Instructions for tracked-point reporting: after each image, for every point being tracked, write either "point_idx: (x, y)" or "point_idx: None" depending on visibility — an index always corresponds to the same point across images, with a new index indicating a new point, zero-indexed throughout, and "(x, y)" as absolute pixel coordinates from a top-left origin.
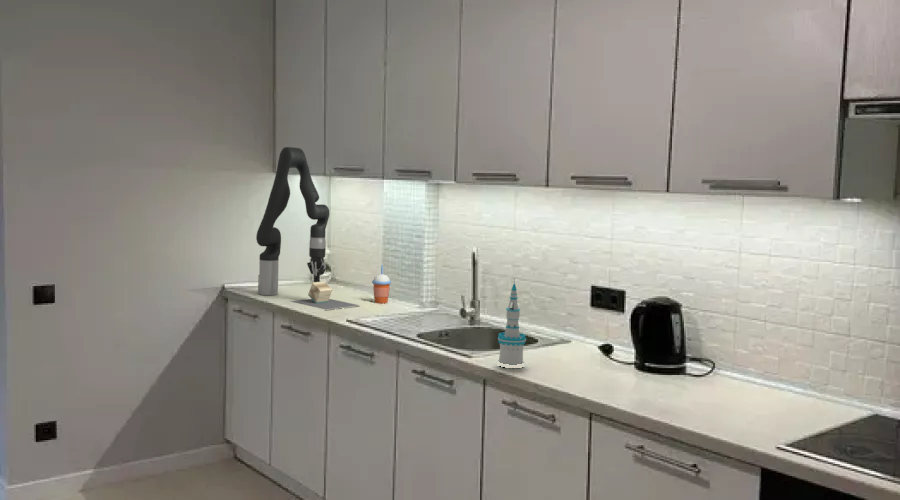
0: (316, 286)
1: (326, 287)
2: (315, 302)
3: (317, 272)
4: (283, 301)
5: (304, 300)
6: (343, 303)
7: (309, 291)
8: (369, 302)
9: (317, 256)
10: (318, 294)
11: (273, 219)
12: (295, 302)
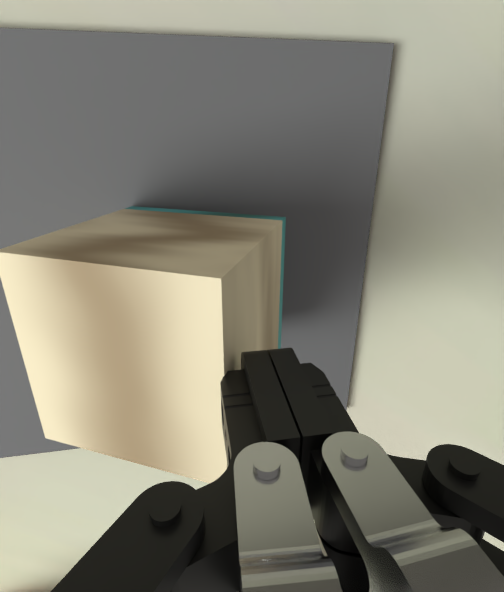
0: (103, 270)
1: (88, 406)
2: (141, 208)
3: (237, 542)
4: (478, 38)
5: (336, 212)
6: (10, 410)
7: (267, 228)
8: (41, 577)
9: None
10: (64, 233)
11: None
12: (297, 43)
